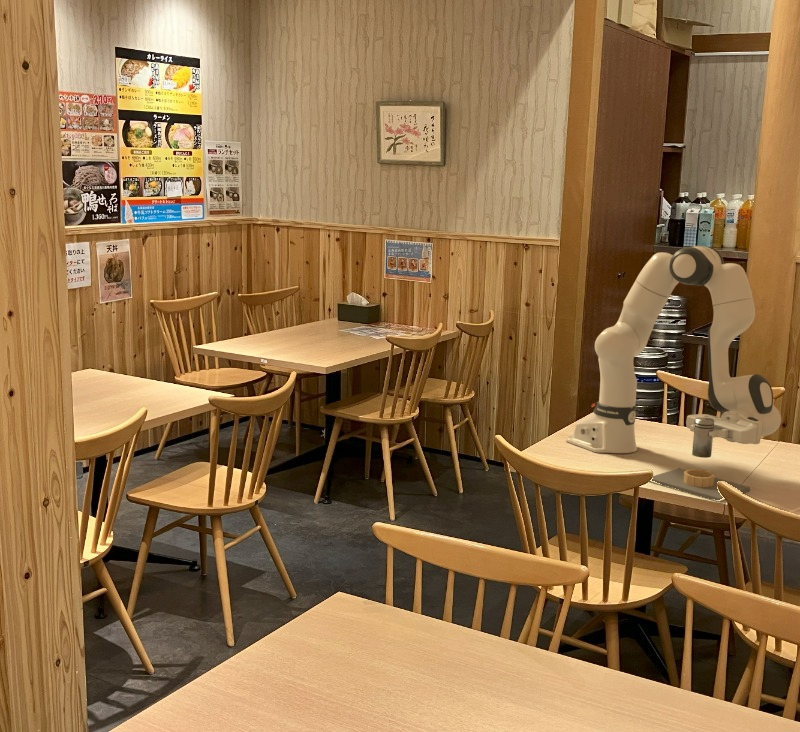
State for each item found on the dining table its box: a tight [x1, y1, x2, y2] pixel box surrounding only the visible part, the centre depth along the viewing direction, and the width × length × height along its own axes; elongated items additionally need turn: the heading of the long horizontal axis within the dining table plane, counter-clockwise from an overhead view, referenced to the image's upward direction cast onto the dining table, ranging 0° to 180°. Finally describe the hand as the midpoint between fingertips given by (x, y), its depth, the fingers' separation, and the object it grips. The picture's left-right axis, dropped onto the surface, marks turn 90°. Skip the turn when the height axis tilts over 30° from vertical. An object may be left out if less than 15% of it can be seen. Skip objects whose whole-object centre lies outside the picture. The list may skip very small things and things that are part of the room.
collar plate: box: [652, 467, 751, 500], centre depth 266 cm, size 22×16×4 cm
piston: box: [691, 417, 714, 459], centre depth 263 cm, size 5×5×10 cm
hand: (701, 431), depth 263 cm, fingers closed on piston, 5 cm apart
